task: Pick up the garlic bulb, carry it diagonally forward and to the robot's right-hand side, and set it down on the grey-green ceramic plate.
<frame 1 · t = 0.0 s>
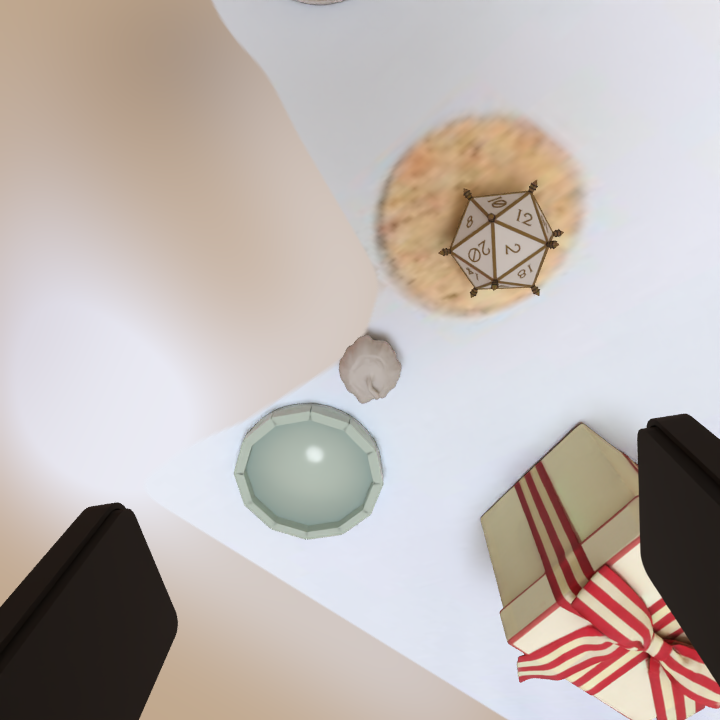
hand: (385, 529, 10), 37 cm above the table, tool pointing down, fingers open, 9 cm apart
plate: (311, 467, 52), on the table
garlic: (370, 359, 48), on the table
gift box: (574, 520, 53), on the table
game die: (491, 235, 44), on the table
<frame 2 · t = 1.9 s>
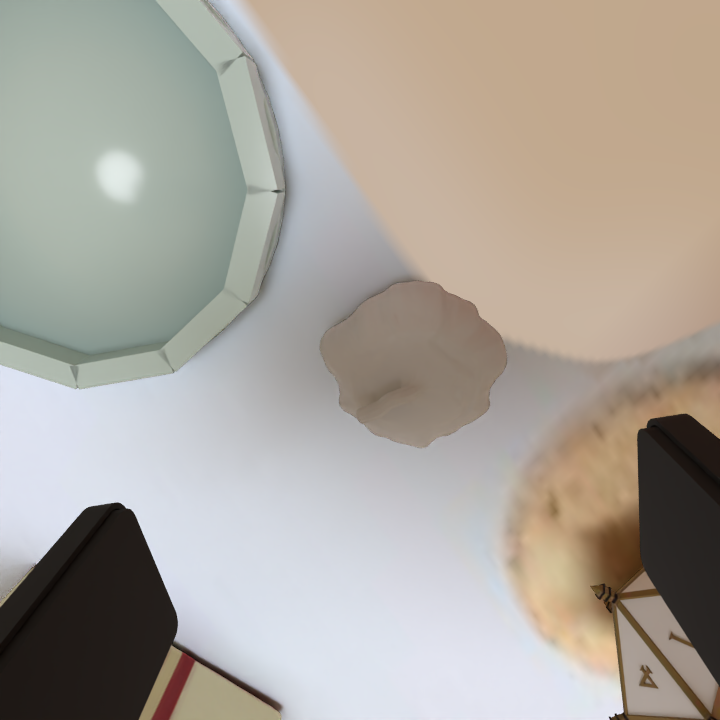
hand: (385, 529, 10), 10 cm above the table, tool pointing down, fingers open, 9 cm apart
plate: (83, 174, 18), on the table
garlic: (410, 340, 20), on the table
gift box: (75, 702, 28), on the table
game die: (666, 567, 22), on the table
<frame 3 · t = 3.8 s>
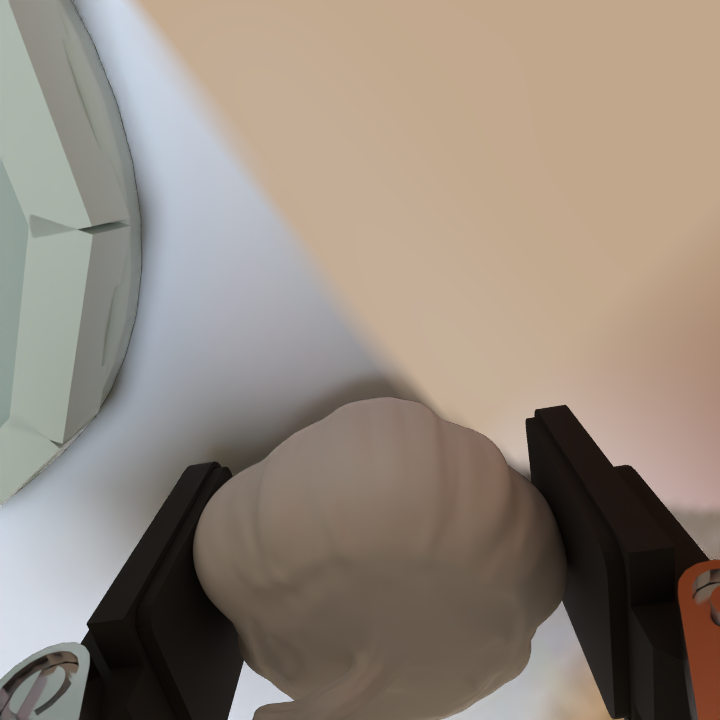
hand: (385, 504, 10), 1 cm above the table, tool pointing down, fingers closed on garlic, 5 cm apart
garlic: (380, 475, 11), on the table, touching gripper
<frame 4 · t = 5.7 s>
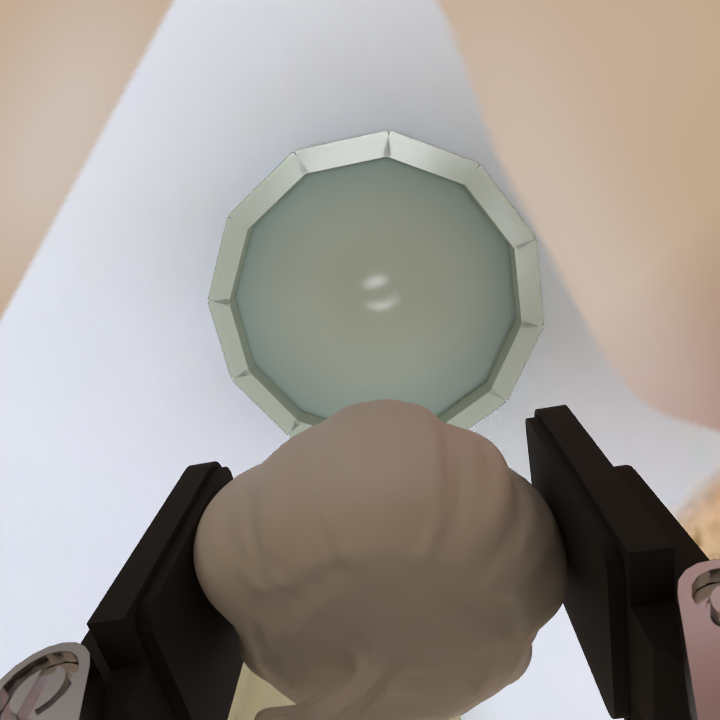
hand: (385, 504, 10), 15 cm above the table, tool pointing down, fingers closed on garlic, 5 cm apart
plate: (375, 302, 24), on the table
garlic: (380, 477, 11), point 14 cm above the table, touching gripper
gift box: (280, 699, 34), on the table
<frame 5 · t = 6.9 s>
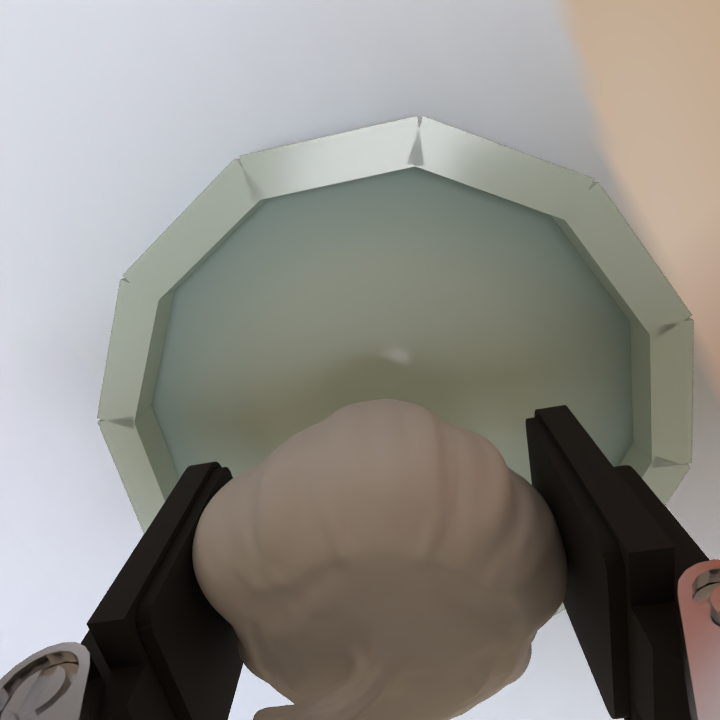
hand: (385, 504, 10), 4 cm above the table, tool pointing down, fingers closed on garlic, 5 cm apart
plate: (389, 406, 15), on the table
garlic: (380, 477, 11), point 3 cm above the table, touching gripper
when the fingers open (3 cm above the table, at t = 7.9 s): garlic drops 1 cm, resting on plate.
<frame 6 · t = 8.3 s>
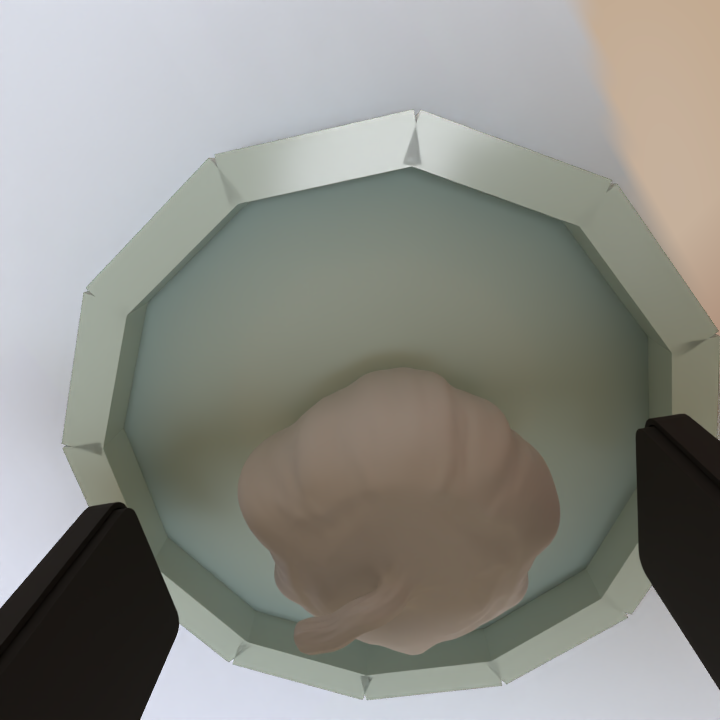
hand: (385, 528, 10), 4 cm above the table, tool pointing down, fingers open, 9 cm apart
plate: (384, 426, 13), on the table
garlic: (394, 442, 13), point 1 cm above the table, touching plate
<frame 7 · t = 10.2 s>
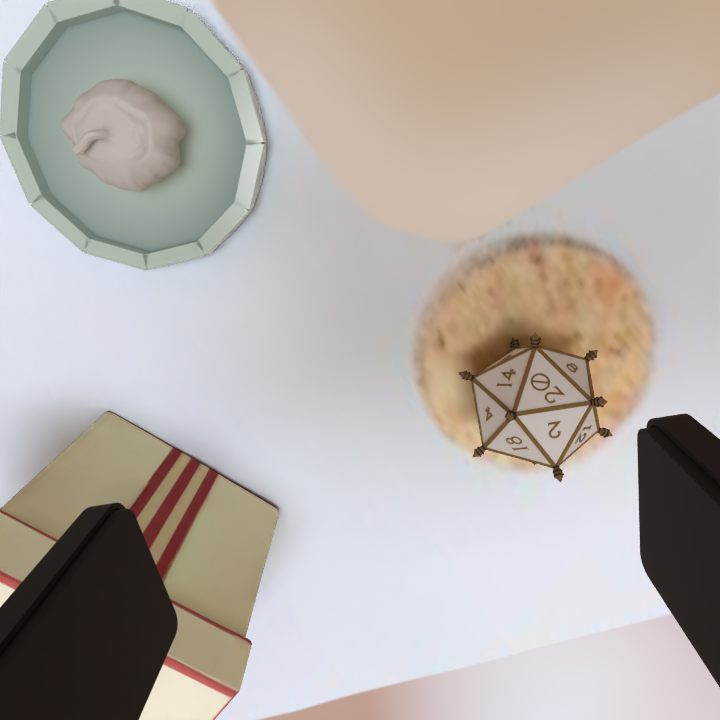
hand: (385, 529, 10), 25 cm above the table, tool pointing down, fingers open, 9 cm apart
plate: (145, 141, 30), on the table
garlic: (144, 140, 30), point 1 cm above the table, touching plate
gift box: (132, 522, 40), on the table
game die: (515, 378, 36), on the table
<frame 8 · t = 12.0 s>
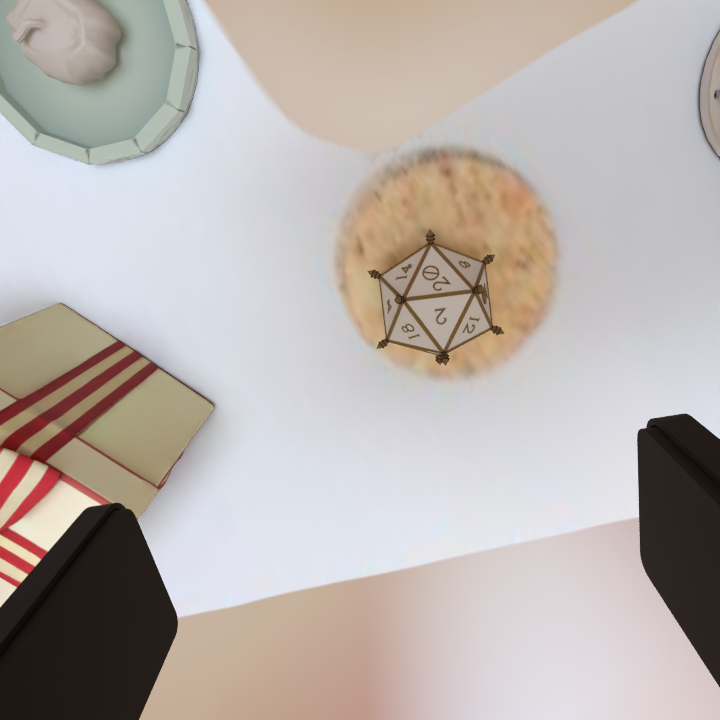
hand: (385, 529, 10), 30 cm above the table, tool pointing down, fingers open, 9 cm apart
plate: (91, 46, 34), on the table
garlic: (88, 43, 33), point 1 cm above the table, touching plate
gift box: (83, 413, 44), on the table
game die: (429, 288, 39), on the table
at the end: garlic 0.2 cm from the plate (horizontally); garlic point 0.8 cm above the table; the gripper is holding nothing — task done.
